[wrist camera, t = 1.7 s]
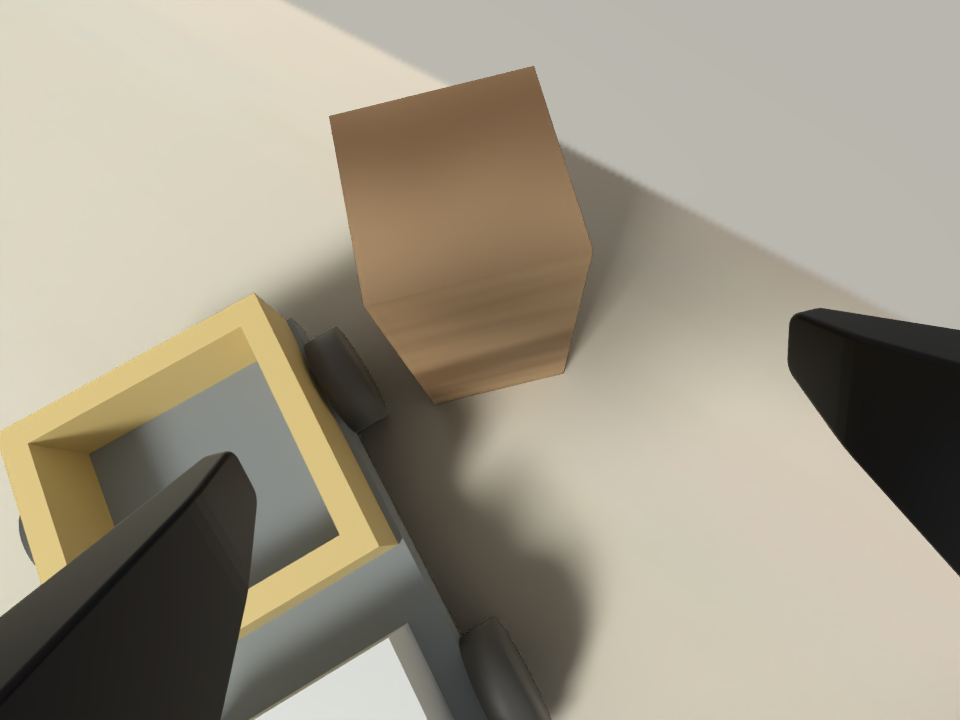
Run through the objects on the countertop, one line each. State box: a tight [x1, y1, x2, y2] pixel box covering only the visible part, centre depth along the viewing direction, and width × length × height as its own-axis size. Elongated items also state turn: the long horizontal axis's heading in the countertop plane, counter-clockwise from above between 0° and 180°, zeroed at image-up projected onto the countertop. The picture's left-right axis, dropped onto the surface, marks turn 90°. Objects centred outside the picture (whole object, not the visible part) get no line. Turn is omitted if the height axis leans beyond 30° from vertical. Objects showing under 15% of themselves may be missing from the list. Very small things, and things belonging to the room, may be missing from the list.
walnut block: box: [329, 66, 593, 405], centre depth 18 cm, size 5×5×10 cm
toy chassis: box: [0, 293, 551, 720], centre depth 18 cm, size 16×11×5 cm
